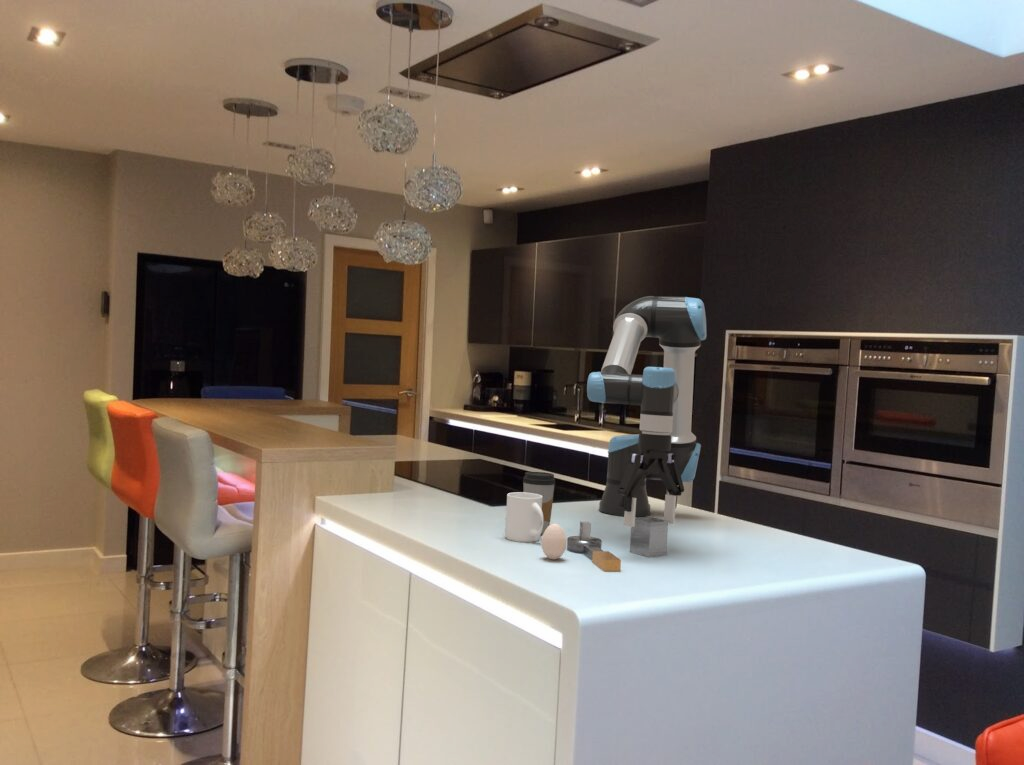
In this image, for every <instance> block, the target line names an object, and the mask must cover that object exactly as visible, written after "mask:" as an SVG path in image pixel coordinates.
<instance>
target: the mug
mask: <svg viewBox="0 0 1024 765" xmlns="http://www.w3.org/2000/svg"><path fill="white" fill-rule="evenodd" d="M505 510H506V511H505V528H504V536H505V539H507V540H509V541H513V542H517V543H533V542H538V541H539V540H540V538H541V535H540V534H541V532H542V529H543V521H544V519H543V512H542V495H539V494H534V493H525V492H523V491H522V492H521V491H520V492H519V491H518V492H517V491H516V492H514V491H513V492H509V493H507V494H506V508H505ZM541 522H542V525H541Z"/></svg>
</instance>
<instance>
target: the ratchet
mask: <svg viewBox="0 0 1024 765" xmlns="http://www.w3.org/2000/svg"><path fill="white" fill-rule="evenodd" d="M579 522H580V523H579V535H570V536H568V537H566V550H567V551H569V552H571V553H576V554H581V555H584V556H586V557H587V558H588V559H589V560H591V562H592V563H593V564H595V565H596V567H598V568H600V569H601V570H602V571H604V572H621V567H622V564H621V563H622V560H621V559H620V558H619V557H618V556H616V555H615V554H613V553H612V552H610V551H608V550H603V549H602V546H603V545H602V543H603V541H602V539H600V538H599V537H593V536H591V532H592V531H591V530H592V523H591V522H590V521H581V520H580V521H579Z"/></svg>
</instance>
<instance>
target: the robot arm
mask: <svg viewBox="0 0 1024 765" xmlns="http://www.w3.org/2000/svg"><path fill="white" fill-rule="evenodd" d="M612 330H613V336H612V339H611V342H610V344H609V347H608V350H607V353H606V355H605V358H604V362H603V364H602V367H601V371H592V372H591V373H589V375H588V378H587V384H586V393H587V399H588V400H589V401H590V402H593V403H602V404H614V405H630V406H640V416H639V417H640V418H639V431H641V433H640V432H639V433H637V434H622V435H614V436H613V437H611V438H610V439H609V443H608V450H607V454H608V455H607V467H606V468H607V470H606V471H607V472H606V485H605V487H604V491H603V493H602V497H601V500H600V501H599V504H598V507H599V508H598V510H599V511H600V512H602V513H604V514H608V515H614V516H622V517H623V525H624V526H627V527H630V528H631V527H635V518H636V517H647V516H649V515H650V514H651V505H650V504H649V503H650V502H649V496H648V493H647V480H654V481H662V483H663V485H664V487H665V489H666V491H667V493H665V495H664V496H665V497H664V511H663V512H664V513H663V520H667V521H668V524H669V523H670V524H675V520H676V509H677V506H678V505H677V504H678V496H679V497H680V496H682V494H683V493H684V492H685V487H684V483H690V482H693V481H694V479H695V477H696V472H697V468H698V462H699V457H700V453H701V448H702V445H701V444H700V443H699V442H697V436H696V435H695V434H694V433H693V432H692V422H693V421H692V418H693V417H692V415H693V401H694V400H693V396H694V375H695V358H696V356H695V354H696V351H697V350H698V349H699V348H700V347H701V345H702V341H705V340H706V339H707V336H708V334H707V316H706V309H705V303H704V302H703V301H702V299H700V298H698V297H697V298H696V297H688V296H655V295H648V296H643V297H640V298H638V299H636V300H633V301H632V302H630V303H629V304H627V305H625V306H624V307H623V308H622V309H621V310H620V311H619V313H618V314H617V315H616V317H615V319H614V322H613V325H612ZM645 338H656V339H657V338H658V340H659V342H658V344H659V346H660V347H661V348H662V349H663V367H661V366H646V367H645V368H644V369H643V372H642V374H634V373H633V374H632V371H633V369H634V366H635V362H636V358H637V356H638V352H639V348H640V346H641V343H642V341H643V340H644V339H645Z"/></svg>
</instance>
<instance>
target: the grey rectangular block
mask: <svg viewBox="0 0 1024 765" xmlns="http://www.w3.org/2000/svg"><path fill="white" fill-rule="evenodd" d="M668 529H669V522H668V521H667V520H664V519H662V518H658V517H655V516H649V515H647V516H636V517H635V527H631V526H630V540H629V541H630V542H629V553H632V554H635V555H639V556H641V557H645V558H654V557H661V556H666V555H667V548H668V547H667V546H668Z"/></svg>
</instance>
